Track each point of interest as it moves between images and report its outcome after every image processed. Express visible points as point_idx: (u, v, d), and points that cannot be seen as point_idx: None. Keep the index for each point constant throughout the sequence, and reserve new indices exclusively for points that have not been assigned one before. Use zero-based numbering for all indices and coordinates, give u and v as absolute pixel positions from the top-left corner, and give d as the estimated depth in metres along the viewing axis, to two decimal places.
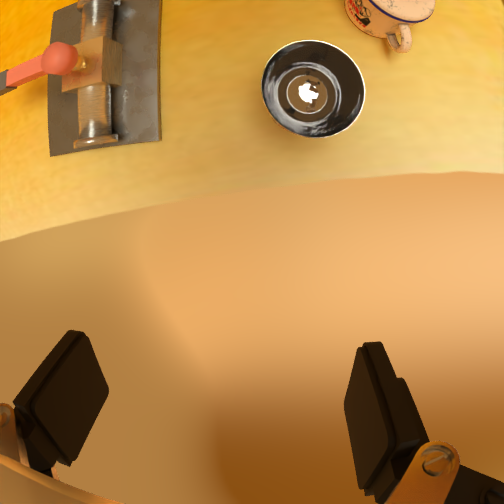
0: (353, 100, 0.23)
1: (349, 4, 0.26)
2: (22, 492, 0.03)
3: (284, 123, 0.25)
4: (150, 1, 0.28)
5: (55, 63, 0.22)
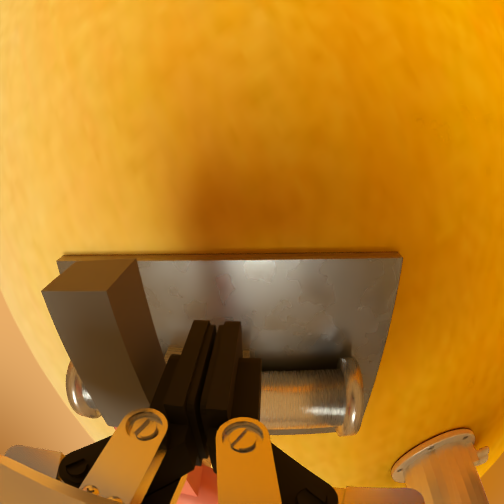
0: None
1: None
2: (22, 492, 0.03)
3: None
4: None
5: None
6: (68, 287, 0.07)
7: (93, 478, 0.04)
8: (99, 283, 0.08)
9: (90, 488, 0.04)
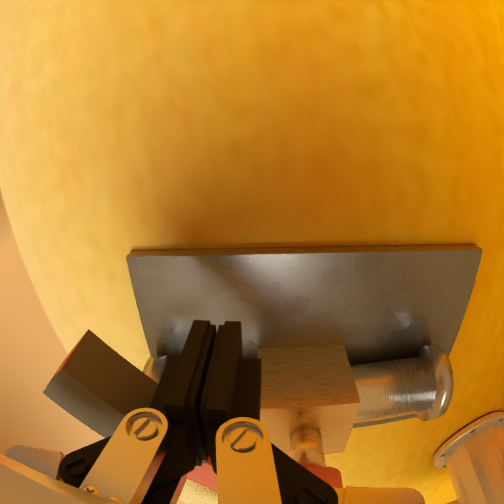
0: None
1: None
2: (22, 492, 0.03)
3: None
4: None
5: None
6: (52, 379, 0.08)
7: (93, 478, 0.04)
8: (63, 364, 0.08)
9: (90, 488, 0.04)
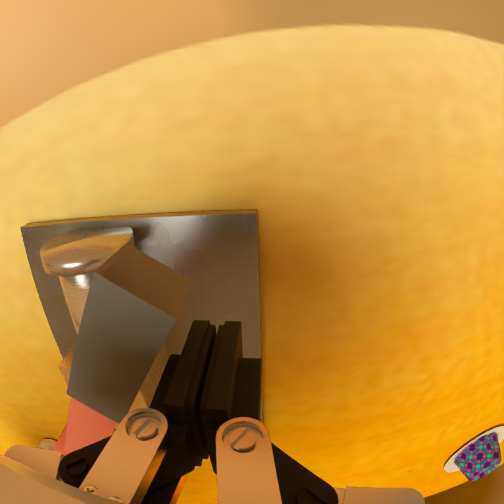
0: None
1: None
2: (22, 492, 0.03)
3: None
4: None
5: None
6: (128, 286, 0.07)
7: (93, 478, 0.04)
8: (165, 301, 0.08)
9: (90, 488, 0.04)
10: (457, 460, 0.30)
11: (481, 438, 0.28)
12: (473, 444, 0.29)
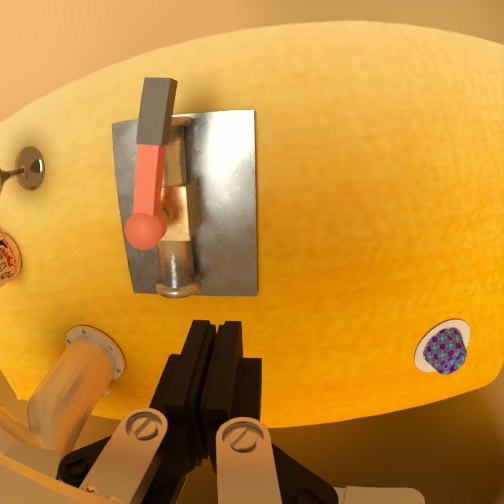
0: None
1: (11, 255, 0.41)
2: (22, 492, 0.03)
3: None
4: (136, 268, 0.42)
5: (133, 235, 0.28)
6: (155, 78, 0.22)
7: (93, 478, 0.04)
8: None
9: (90, 488, 0.04)
10: (425, 354, 0.46)
11: (441, 331, 0.44)
12: (435, 337, 0.45)
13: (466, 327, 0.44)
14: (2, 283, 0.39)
